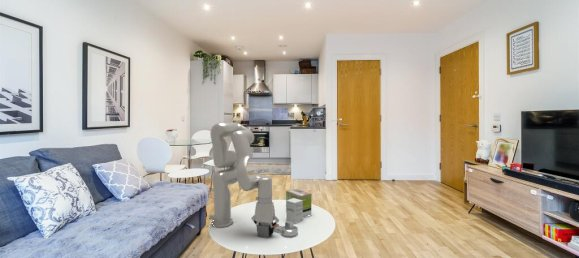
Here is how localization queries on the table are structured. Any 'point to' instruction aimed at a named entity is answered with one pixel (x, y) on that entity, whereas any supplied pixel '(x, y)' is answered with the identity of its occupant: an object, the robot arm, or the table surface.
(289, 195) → the tea box
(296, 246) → the table surface
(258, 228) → the brushed grey cube
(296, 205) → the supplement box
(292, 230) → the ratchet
